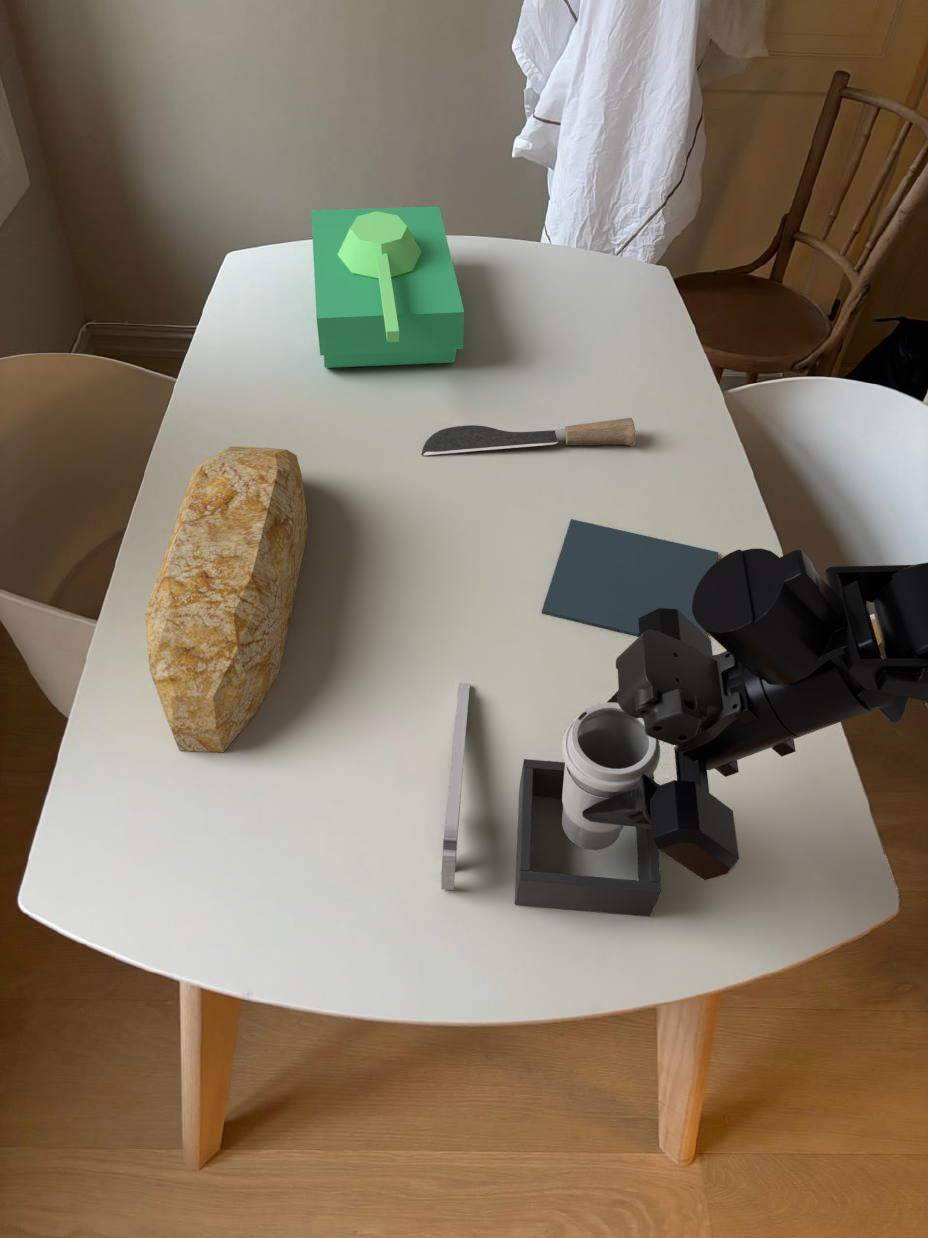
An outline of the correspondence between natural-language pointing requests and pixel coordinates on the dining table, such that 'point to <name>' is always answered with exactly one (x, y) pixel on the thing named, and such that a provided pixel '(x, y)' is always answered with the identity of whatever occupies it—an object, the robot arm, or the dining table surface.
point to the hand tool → (528, 437)
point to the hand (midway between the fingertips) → (585, 773)
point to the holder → (575, 888)
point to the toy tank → (385, 287)
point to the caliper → (455, 790)
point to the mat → (623, 577)
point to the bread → (226, 593)
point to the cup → (602, 768)
